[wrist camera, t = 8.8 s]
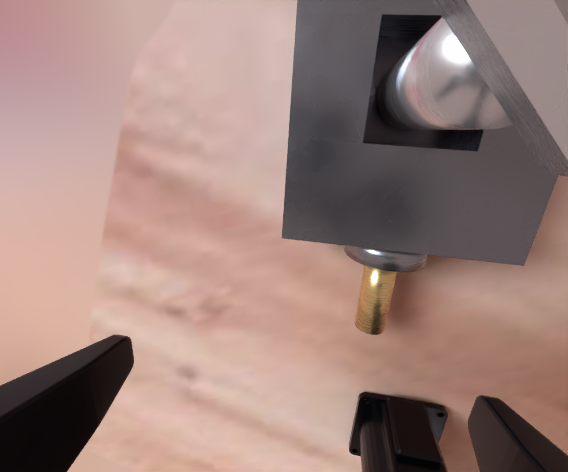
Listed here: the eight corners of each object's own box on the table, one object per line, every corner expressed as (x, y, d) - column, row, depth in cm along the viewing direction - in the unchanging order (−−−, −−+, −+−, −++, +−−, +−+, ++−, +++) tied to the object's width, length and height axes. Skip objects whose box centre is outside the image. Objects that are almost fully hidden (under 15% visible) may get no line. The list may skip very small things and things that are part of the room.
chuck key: (477, 120, 14) (698, 106, 6) (417, 165, 15) (529, 208, 7) (404, 14, 13) (540, -199, 5) (346, 68, 14) (371, -23, 6)
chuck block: (447, 314, 20) (484, 370, 15) (287, 292, 21) (275, 337, 16) (562, -66, 13) (691, -178, 8) (315, -63, 14) (307, -158, 10)
